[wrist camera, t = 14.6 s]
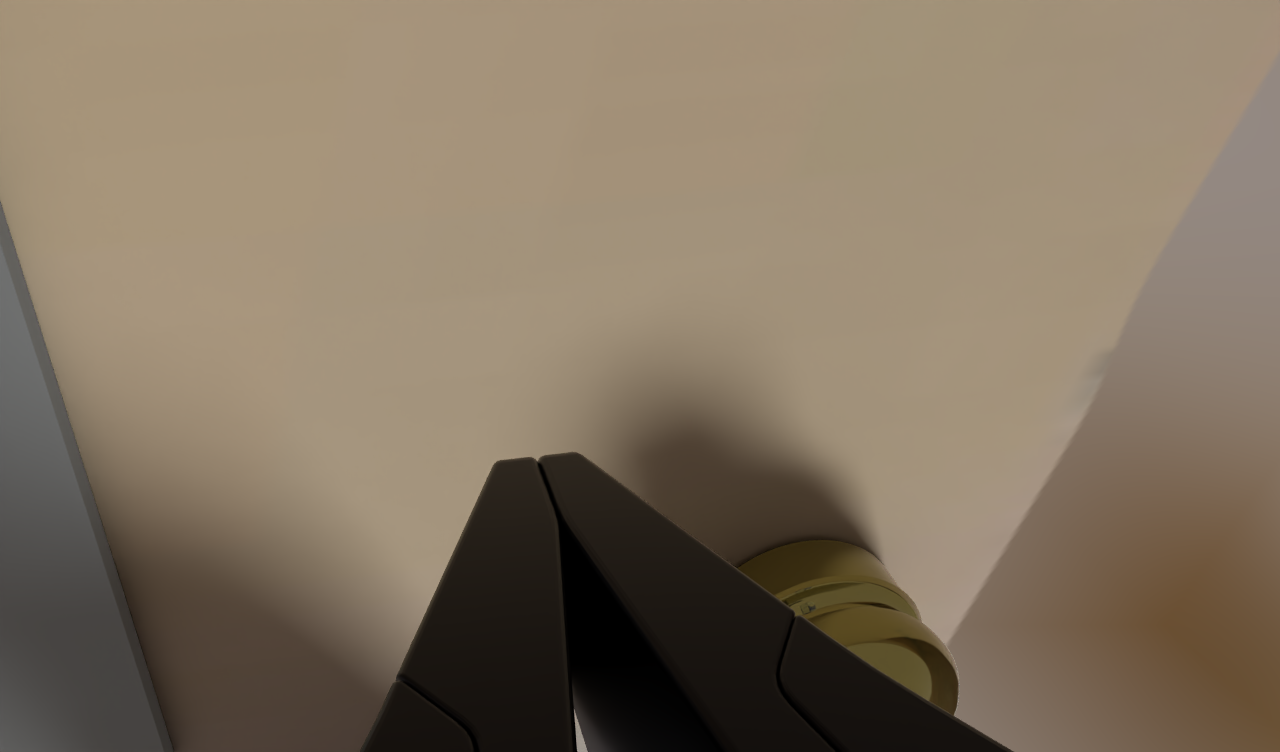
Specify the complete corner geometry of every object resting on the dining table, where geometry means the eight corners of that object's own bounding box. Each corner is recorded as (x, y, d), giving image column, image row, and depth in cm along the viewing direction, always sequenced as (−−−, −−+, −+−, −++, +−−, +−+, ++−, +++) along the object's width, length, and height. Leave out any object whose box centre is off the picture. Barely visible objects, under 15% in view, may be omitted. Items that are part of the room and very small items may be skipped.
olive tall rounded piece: (810, 720, 33) (961, 1015, 24) (640, 677, 30) (746, 999, 21) (933, 568, 31) (1146, 833, 22) (763, 503, 27) (937, 785, 19)
